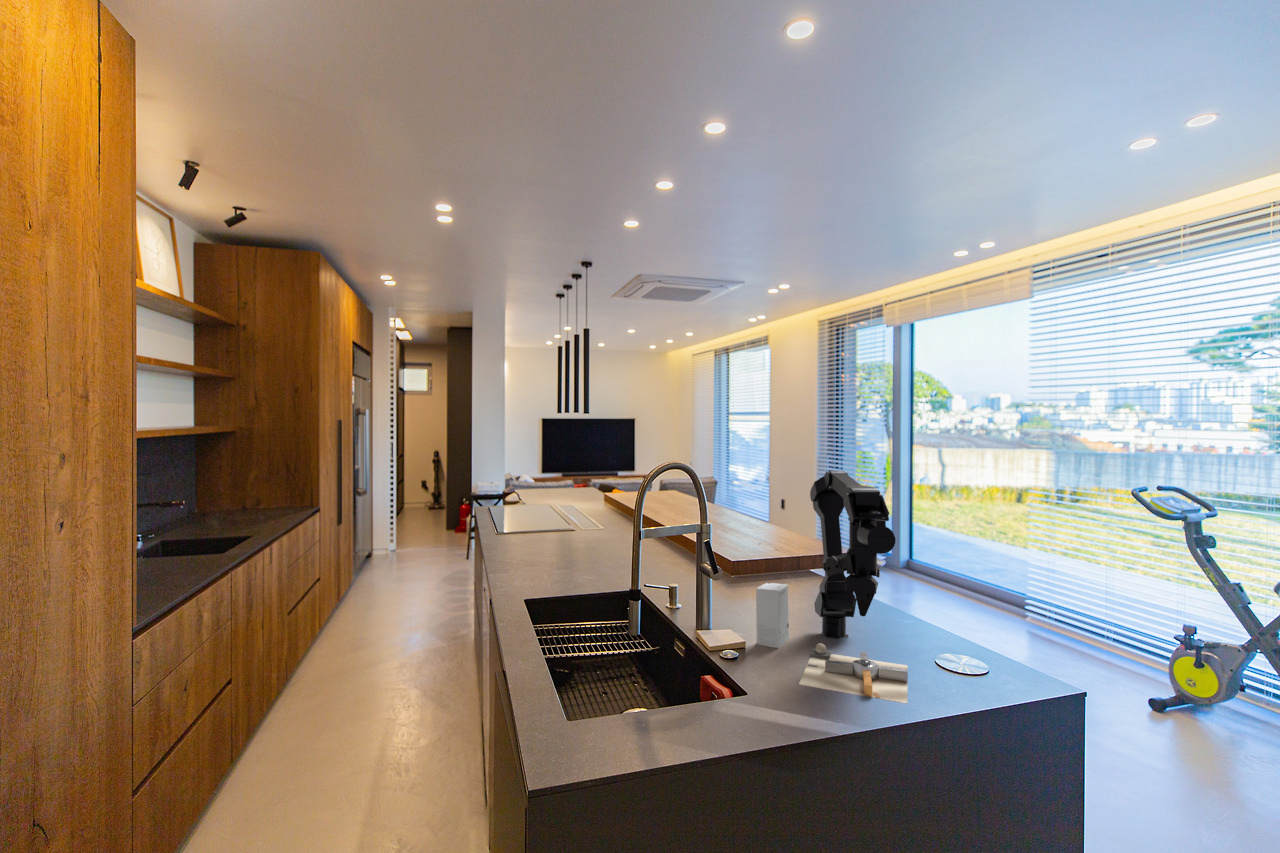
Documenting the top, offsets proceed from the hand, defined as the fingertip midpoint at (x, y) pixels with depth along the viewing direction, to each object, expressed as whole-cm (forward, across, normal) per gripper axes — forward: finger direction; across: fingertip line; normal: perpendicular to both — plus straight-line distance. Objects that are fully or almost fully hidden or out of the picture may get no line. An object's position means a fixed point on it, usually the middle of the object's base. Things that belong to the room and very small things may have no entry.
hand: (862, 615), depth 131 cm
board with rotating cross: (+12, +7, -1) cm, 14 cm away
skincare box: (+12, -6, -21) cm, 25 cm away
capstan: (+11, +8, +1) cm, 13 cm away
